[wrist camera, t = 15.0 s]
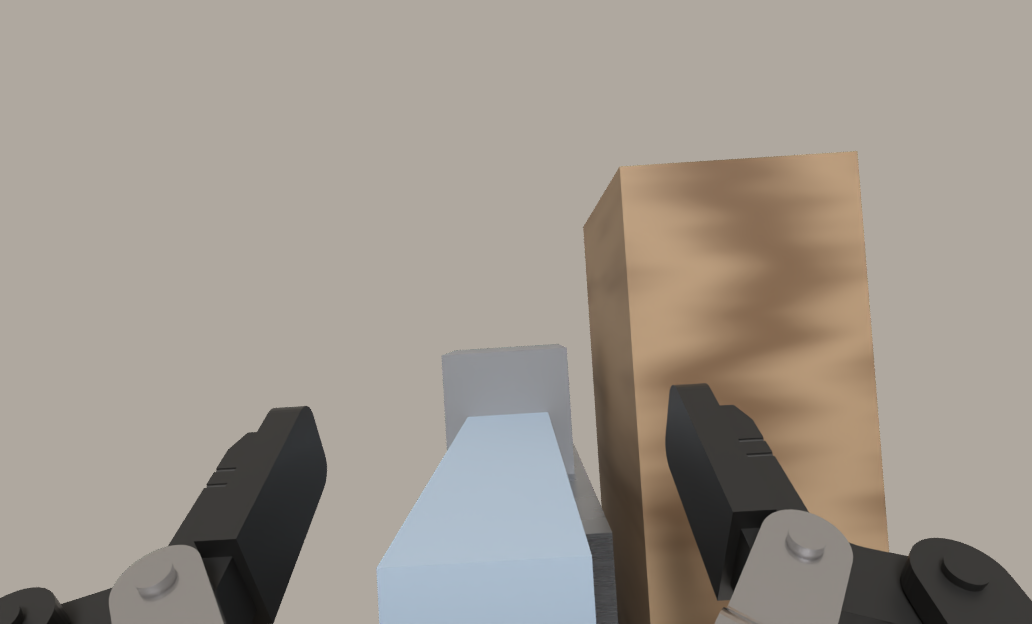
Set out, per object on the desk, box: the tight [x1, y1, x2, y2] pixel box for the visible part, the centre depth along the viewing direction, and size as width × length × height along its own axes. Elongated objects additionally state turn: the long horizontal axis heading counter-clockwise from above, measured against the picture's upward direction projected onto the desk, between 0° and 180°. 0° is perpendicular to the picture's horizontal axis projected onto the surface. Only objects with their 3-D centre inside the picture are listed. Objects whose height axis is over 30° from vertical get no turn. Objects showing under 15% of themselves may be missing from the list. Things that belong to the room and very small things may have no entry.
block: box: [377, 344, 596, 624], centre depth 18 cm, size 5×19×5 cm, turn 179°
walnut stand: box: [583, 151, 889, 624], centre depth 21 cm, size 7×10×32 cm
